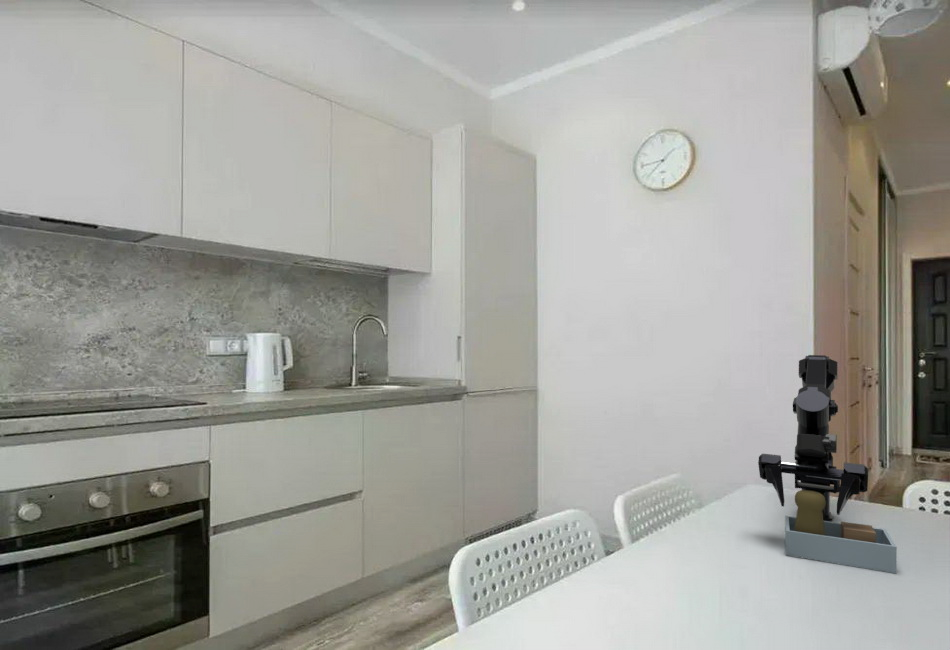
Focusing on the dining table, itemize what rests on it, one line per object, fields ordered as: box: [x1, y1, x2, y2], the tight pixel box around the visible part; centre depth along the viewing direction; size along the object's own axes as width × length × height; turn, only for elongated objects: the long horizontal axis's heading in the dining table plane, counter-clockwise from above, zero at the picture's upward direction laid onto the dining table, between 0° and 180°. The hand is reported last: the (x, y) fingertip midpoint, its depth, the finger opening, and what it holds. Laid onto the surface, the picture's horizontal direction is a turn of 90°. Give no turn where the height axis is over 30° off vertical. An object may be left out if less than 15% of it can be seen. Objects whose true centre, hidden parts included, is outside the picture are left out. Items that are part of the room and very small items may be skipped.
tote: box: [784, 515, 897, 574], centre depth 113 cm, size 11×17×5 cm, turn 63°
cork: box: [794, 489, 826, 536], centre depth 114 cm, size 6×6×11 cm
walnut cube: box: [840, 521, 876, 543], centre depth 112 cm, size 5×5×5 cm
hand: (809, 509), depth 113 cm, fingers open, 9 cm apart
